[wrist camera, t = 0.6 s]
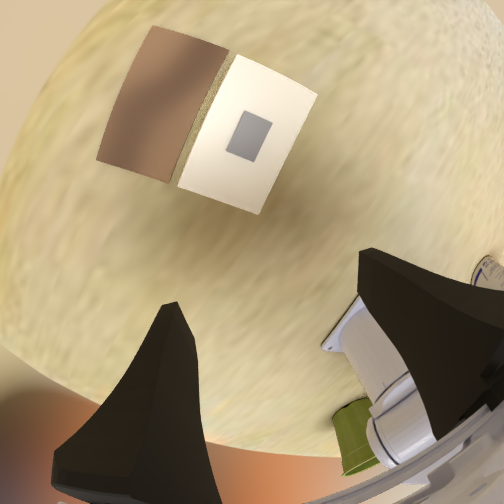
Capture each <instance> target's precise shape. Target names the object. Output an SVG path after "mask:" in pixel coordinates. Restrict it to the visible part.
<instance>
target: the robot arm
mask: <svg viewBox="0 0 504 504" xmlns="http://www.w3.org/2000/svg"><path fill="white" fill-rule="evenodd" d="M357 292H358V294H359V296H358V298H357V299H356V300H355V302H354V303H353V305H352V306H351V307H350V309H349V310H348V311H347V313H346V314H345V316H344V317H343V318H342V320H341V321H340V322H339V324H338V325H337V326H336V328H335V329H334V330H333V331H332V333H331V334H330V335H329V337H328V338H327V339H326V340H325V342H324V343H323V344H322V346H321V348H322V350H323V351H332V352H342V353H344V354H345V356H346V357H347V359H348V361H349V363H350V364H351V366H352V368H353V370H354V372H355V373H356V375H357V377H358V379H359V381H360V382H361V384H362V386H363V388H364V390H365V391H366V393H367V395H368V397H369V399H370V401H371V402H372V404H373V406H371V407H370V408H369V411H370V413H371V415H372V417H371V418H369V420H368V423H367V428H366V435H367V439H368V442H369V445H370V447H371V449H372V451H373V453H374V454H375V456H376V457H377V459H378V460H379V461H380V462H381V463H382V464H383V465H384V466H385V467H387V468H388V469H389V470H388V471H386V472H384V473H382V474H380V475H378V476H376V477H373V478H371V479H369V480H367V481H365V482H362V483H360V484H358V485H355V486H353V487H350V488H348V489H345V490H343V491H340V492H338V493H335V494H332V495H329V496H326V497H323V498H320V499H317V500H314V501H310V502H307V503H303V504H358V503H361V502H363V501H365V500H368V499H370V498H372V497H374V496H376V495H378V494H380V493H383V492H385V491H387V490H389V489H390V488H393V487H394V486H396V485H398V484H400V483H402V484H409V485H416V484H428V485H426V486H425V487H423V488H421V489H420V490H418V491H416V492H414V493H412V494H411V495H409V496H407V497H405V498H403V499H401V500H399V501H398V502H396V503H394V504H504V291H502V290H494V289H488V288H483V287H479V286H474V285H470V284H466V283H462V282H459V281H456V280H453V279H449V278H446V277H443V276H441V275H438V274H435V273H433V272H430V271H428V270H425V269H423V268H420V267H418V266H416V265H413V264H411V263H409V262H406V261H404V260H402V259H399V258H397V257H395V256H392V255H390V254H388V253H385V252H383V251H380V250H378V249H375V248H368V249H365V250H362V251H359V266H358V286H357ZM51 485H52V486H53V487H54V488H55V489H56V490H58V491H60V492H63V493H65V494H67V495H69V496H72V497H74V498H77V499H80V500H82V501H85V502H88V503H90V504H222V501H221V498H220V495H219V492H218V489H217V486H216V483H215V479H214V476H213V473H212V469H211V465H210V461H209V457H208V453H207V448H206V444H205V439H204V434H203V428H202V423H201V415H200V401H199V376H198V358H197V351H196V345H195V339H194V336H193V334H192V332H191V330H190V328H189V326H188V324H187V322H186V320H185V318H184V315H183V313H182V311H181V309H180V307H179V305H178V302H173V303H169V304H164V305H162V306H161V308H160V310H159V312H158V313H157V315H156V317H155V319H154V321H153V323H152V325H151V327H150V329H149V331H148V333H147V335H146V337H145V339H144V341H143V343H142V345H141V346H140V348H139V350H138V352H137V354H136V355H135V357H134V359H133V361H132V362H131V364H130V366H129V368H128V369H127V371H126V372H125V374H124V375H123V377H122V378H121V380H120V381H119V383H118V384H117V386H116V387H115V388H114V390H113V391H112V393H111V394H110V395H109V396H108V398H107V399H106V400H105V401H104V402H103V404H102V405H101V406H100V407H99V409H98V410H97V411H96V412H95V413H94V414H93V416H92V417H91V418H90V419H89V420H88V421H87V422H86V423H85V424H84V425H83V426H82V427H81V428H80V429H79V430H78V431H77V432H76V433H75V434H74V435H73V436H72V437H70V438H69V439H68V440H67V441H66V442H65V443H64V444H62V445H61V446H60V447H59V448H57V449H56V450H55V451H54V458H53V466H52V476H51ZM58 504H67V503H63V502H60V501H59V502H58Z"/></svg>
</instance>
